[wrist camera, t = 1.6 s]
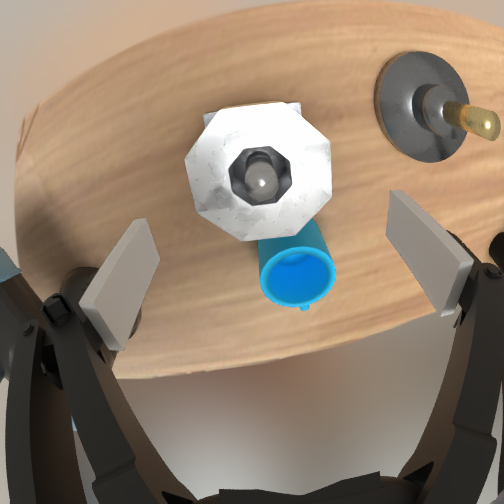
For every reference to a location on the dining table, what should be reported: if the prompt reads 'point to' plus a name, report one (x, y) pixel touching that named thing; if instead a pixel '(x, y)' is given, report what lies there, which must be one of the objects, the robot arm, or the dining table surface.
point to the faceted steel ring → (233, 191)
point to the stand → (258, 165)
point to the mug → (296, 267)
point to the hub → (428, 107)
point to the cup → (498, 250)
